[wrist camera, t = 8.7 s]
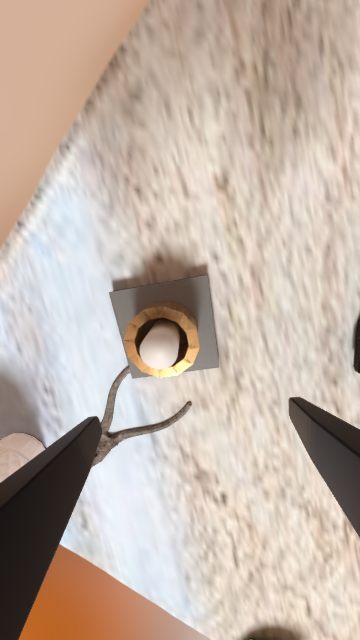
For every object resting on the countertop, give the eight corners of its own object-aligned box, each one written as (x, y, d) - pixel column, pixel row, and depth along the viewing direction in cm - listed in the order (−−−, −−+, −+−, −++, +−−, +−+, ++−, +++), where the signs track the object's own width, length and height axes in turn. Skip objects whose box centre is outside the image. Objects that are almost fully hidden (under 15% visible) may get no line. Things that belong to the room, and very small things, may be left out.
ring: (191, 295, 17) (192, 301, 14) (201, 354, 19) (203, 371, 15) (130, 306, 18) (116, 314, 14) (144, 362, 19) (134, 380, 16)
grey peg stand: (206, 275, 18) (215, 275, 12) (217, 362, 20) (229, 398, 14) (113, 291, 19) (78, 299, 13) (134, 373, 21) (114, 411, 15)
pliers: (200, 396, 21) (123, 491, 26) (199, 392, 22) (125, 485, 27) (130, 355, 20) (64, 462, 25) (132, 352, 21) (68, 456, 26)
